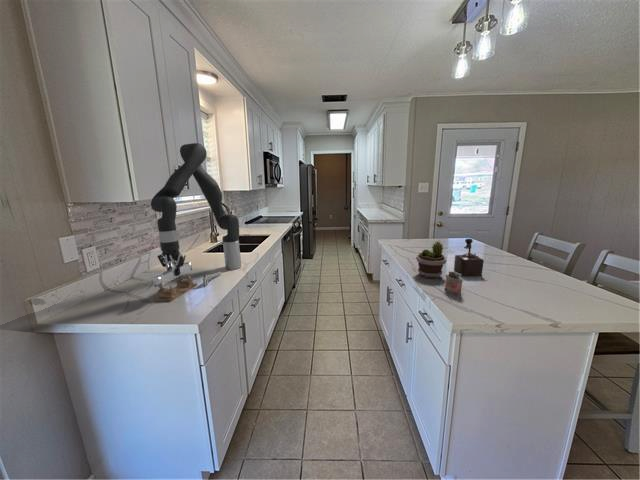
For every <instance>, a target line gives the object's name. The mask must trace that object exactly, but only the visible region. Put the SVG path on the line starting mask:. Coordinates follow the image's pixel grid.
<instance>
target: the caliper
mask: <svg viewBox="0 0 640 480" xmlns="http://www.w3.org/2000/svg"><path fill="white" fill-rule="evenodd" d="M222 273H223V272H222V271H218V272H215V273H213V274H203V277H202V284H203V287H208V285H209V281H211V280H212V278H215V277H218V276H220V275H222Z"/></svg>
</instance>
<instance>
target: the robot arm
mask: <svg viewBox="0 0 640 480" xmlns="http://www.w3.org/2000/svg"><path fill="white" fill-rule="evenodd" d="M179 153H180V157H181V159H182V161H183V163H182V164H181V165H180V167H178V168H177V169H176V170H175V171H174V172H173V173H172V174H170V176H169V178H168V179H167V181H166V183H165V184H164V186H163V187H162V188H161V189H160V190H159V191H157V193H156V194H155V195H154V196H153V197H152V199H151V202H150V208H151V209H152V210H153V211H154V212H158V213H161V217H160V218H158V219H157V222H156V223H157V229H158V240H159V244H160V245H159V247H160V250H161V253H160V254H159V255H157V258H158V261H159V262H160V264H161V267H163V268H166V271H168V270H170V269H172V268H175V269H174V270H175V276H178V275H180V267H181V266H183V264H184V263H185V261H186V257H187V256H186V254H181V252H180V242H179V234H178V232H177V226H176V216H177V208H178V205H177V201H176V200H175V199H174V198H177V197H179V196H180V195H181V193H182V191H183V190H184V188H185V186H186V184H187V183H188V181H189V180H190V178H191V177H192V176H193V178H194V180H195V181H196V183H197V184H198V187H199V188H200V191H201V192H202V194H203V197H204V198H205V199H206V201H207V203H208V206H209V207H210V209H211V211H212V213H213V216H214V219H215V221H216V224H217V225H218V227H219V228H220V229H222V230H224V231H227V232H226V235H224V236H222V239H221V240H222V245H223V247H222V248H223V256H224V257H223V258H224V266H225V269H226V270H228V271H232V270H233V271H235V270H238V269H240V268H241V267H242V257H241V251H240V240H239V238H240V222H239V218H238V217H237V216H236V215H235V214H227V213H226V212H225V209H224V207H223V192H222V190H221V188H220V186H219V184H218V182H217V181H216V180H215V179H214V178H213V176H211V175H210V174H209V173H208V172H207V171H206V170H205V169H204V168H203V166H202V164H203V162H204V161H205V160H206V158H207V154H208V153H207V150H206V146H204V145H203V144H201V143H198V142H194V143H193V142H192V143H186V144H182V145H181V146H180V148H179Z"/></svg>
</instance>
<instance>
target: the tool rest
mask: <svg viewBox="0 0 640 480" xmlns="http://www.w3.org/2000/svg"><path fill="white" fill-rule="evenodd" d="M181 276H182V275H181ZM181 276H179V277H177V280H176V286H175V287H174V286H173V285H170V286H169V288H167V287H166V288H165V287H164V286H163V285H161V286H159V287H158V288H159V289H158V290H157V295H158V296H157V297H155V298H153V300H154V302H166V303H170V302H172V301H174V300H176V299H177V298H178V297H181V296H182V295H183V294H185V293H187V292H188V291H190V290H192V289H194V288H195V287H196V286H198V283H197V282H196V283H195V282H194V280H193V278H191V276H190V275H188V276H187V278H181Z"/></svg>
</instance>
